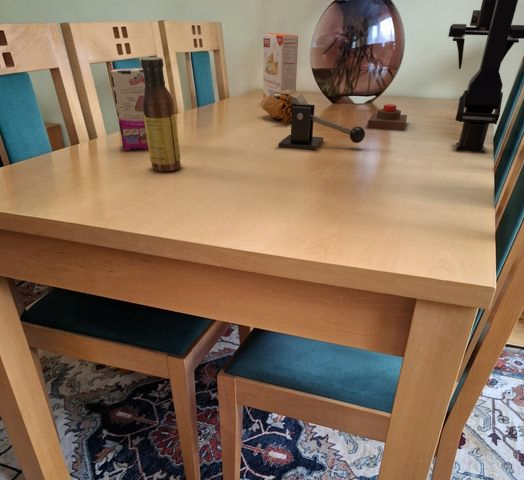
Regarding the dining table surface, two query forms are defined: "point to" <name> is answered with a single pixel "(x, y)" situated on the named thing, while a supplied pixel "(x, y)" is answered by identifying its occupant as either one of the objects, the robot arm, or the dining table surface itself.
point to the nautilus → (282, 104)
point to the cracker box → (279, 62)
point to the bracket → (301, 130)
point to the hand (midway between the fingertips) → (477, 69)
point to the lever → (342, 129)
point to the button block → (387, 120)
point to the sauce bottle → (159, 118)
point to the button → (389, 108)
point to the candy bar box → (130, 107)
